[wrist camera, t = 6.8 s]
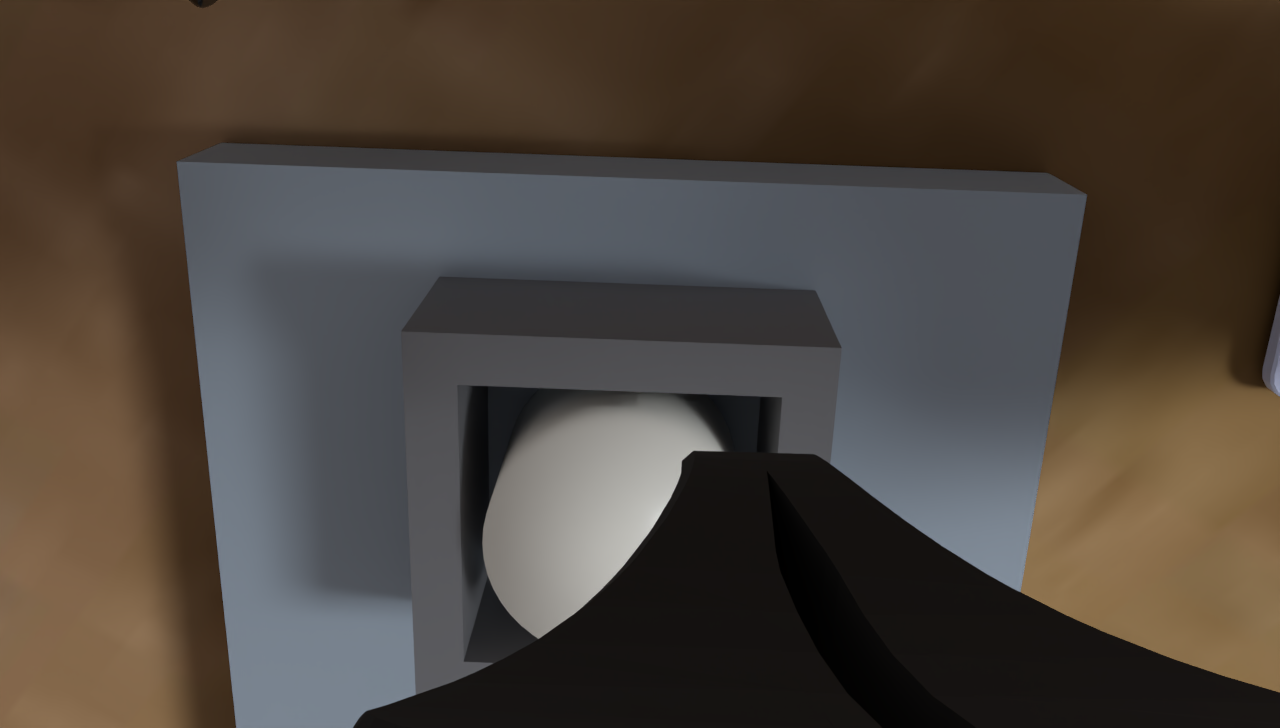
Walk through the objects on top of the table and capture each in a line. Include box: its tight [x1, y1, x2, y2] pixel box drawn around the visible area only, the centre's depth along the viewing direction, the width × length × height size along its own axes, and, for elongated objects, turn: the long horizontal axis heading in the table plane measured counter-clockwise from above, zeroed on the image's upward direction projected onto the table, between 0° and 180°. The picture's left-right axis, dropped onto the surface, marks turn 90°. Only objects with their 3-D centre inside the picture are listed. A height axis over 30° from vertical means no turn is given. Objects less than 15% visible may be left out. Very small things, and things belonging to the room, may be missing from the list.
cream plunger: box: [482, 388, 734, 639], centre depth 19 cm, size 4×4×3 cm
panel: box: [177, 143, 1087, 728], centre depth 22 cm, size 15×20×5 cm
